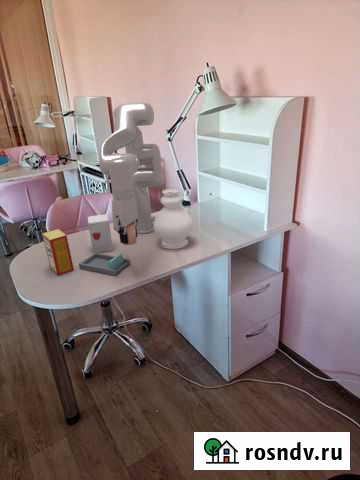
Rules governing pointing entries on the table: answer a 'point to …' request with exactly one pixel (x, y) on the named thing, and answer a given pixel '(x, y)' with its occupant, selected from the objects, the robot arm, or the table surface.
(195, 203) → the table surface
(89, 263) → the pusher lane
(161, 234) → the decorative vase
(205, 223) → the table surface
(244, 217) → the table surface
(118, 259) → the plate
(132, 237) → the tan egg shape
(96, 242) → the supplement box
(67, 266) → the baking soda box
